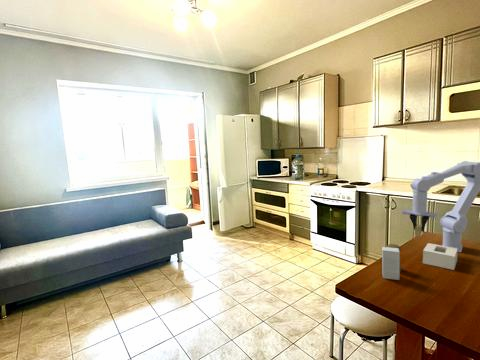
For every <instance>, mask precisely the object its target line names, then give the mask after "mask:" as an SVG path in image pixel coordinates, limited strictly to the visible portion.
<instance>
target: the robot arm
mask: <svg viewBox="0 0 480 360" xmlns="http://www.w3.org/2000/svg"><path fill="white" fill-rule="evenodd" d="M459 174H461V175H462V176H463V177H464V179H465V180H466V182H467V183H466V185H465V186H464V188H463V190H462V192H461V194H460V195H459V197H458V199H457V201H456V202H455V204H454V206H453V208H452V210H450V211H447V212H446V213H445V214H444V216H442V217H441V218H440V220H439V225H440V226H441V227H442V244H441V245H442V246H447V247H453V248H458V251H457V253H462V250H463V248H464V246H463V245H462V237H463V235H462V234H463V233H464V232H465V231H466V229H467V224H468V222H469V220H468V218H467V217H466V215H467V214H468V211H469V210H470V209H471V206H472V204H473V202H474V201H475V199H476V197H477V196H478V194H479V192H480V162H475V161H466V160H465V161H461V162H459V163H457V164H456V165H454V166H452V167H449V168H447V169H446V170H443V171H441V172H438V171H432V172H430V174H428V175H425V176H421V178H415V179H413V180H412V182H411V184H410V183H409V184H410V188H411V189H412V210H411V209H402V213H401V214H402V215H409V220H411V224H412V226H413V230H414V231H415V226H416V225H417V222H418V221H417V220H418V216H419V217H421V225H422V231H423V232H424V231H425V228H426V225H427V223H428V221H429V219H430V218H433V219H438V218H439V213H437V212H436V213H435V212H430V211H427V210H428V191H430V189H431V188H432V187H435V186H437V185H440V184H442V183H443V182H444V180H446V179H448V178H451V177H454V176H456V175H457V176H458V175H459Z"/></svg>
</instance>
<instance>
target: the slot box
mask: <svg viewBox="0 0 480 360" xmlns="http://www.w3.org/2000/svg"><path fill="white" fill-rule="evenodd" d="M422 250H423V251H422V264H425V265H429V266H434V267H438V268H442V269H447V270H452V271H455V268H456V265H457V263H458V252H457V251H458V248H453V247H447V246H442V244H436V243H430V242H429V243H428V242H427V244H426V246H425V247H424V248H423V249H422Z"/></svg>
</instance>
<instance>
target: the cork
mask: <svg viewBox="0 0 480 360" xmlns="http://www.w3.org/2000/svg"><path fill="white" fill-rule="evenodd" d="M386 247H390V248H398V249H399V252H400V253H401V247H400V246H399V245H398V244H395V243H389V244H387V245H386ZM401 265H402V264H400V272H401V271H402V266H401Z"/></svg>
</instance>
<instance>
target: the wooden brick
mask: <svg viewBox="0 0 480 360" xmlns="http://www.w3.org/2000/svg"><path fill="white" fill-rule="evenodd" d="M414 235H415V236H418V237H421V236H422V235H424V231H422V224H417V225H416V226H415V230H414Z"/></svg>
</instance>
